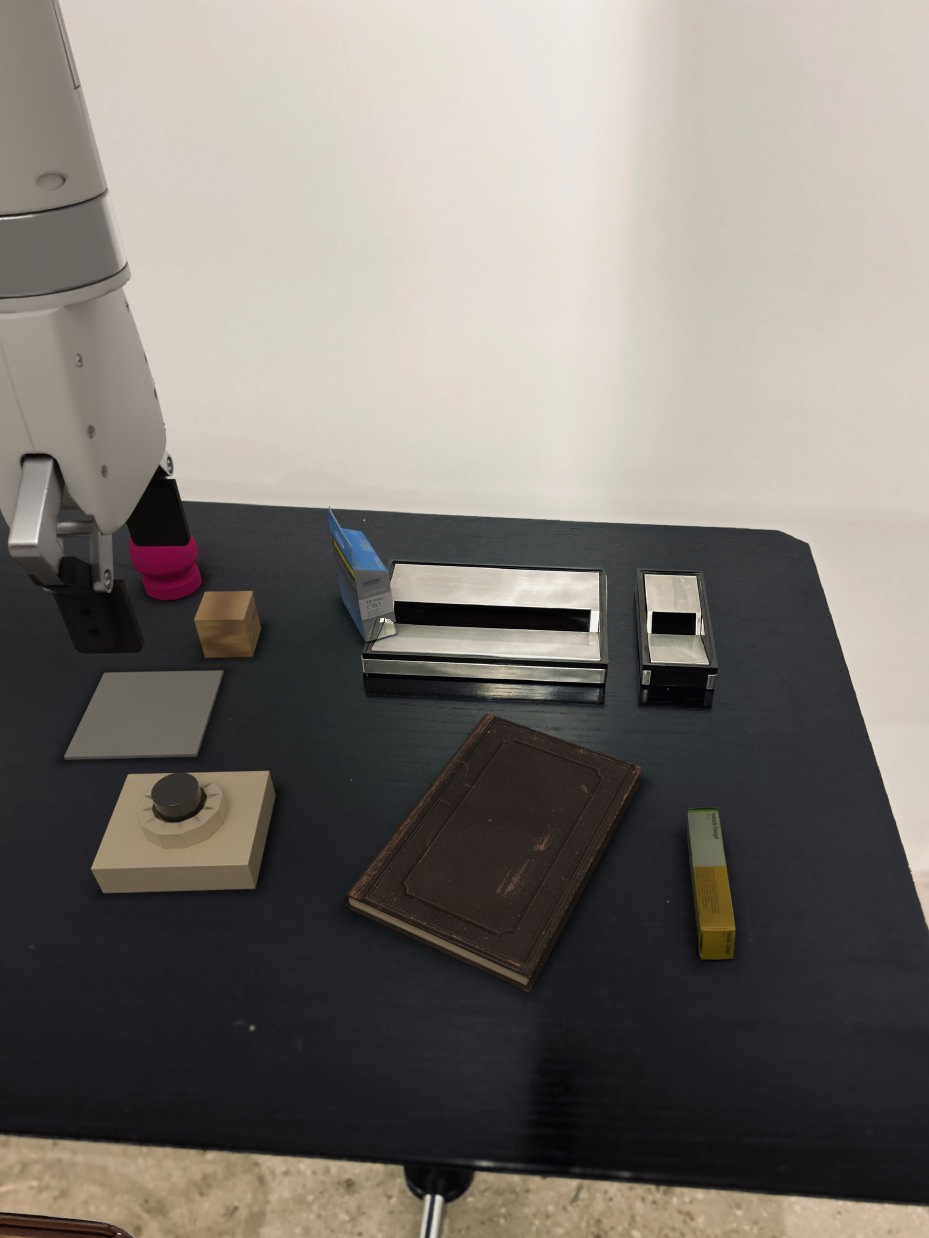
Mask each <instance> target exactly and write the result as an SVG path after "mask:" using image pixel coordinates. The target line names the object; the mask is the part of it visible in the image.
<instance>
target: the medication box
mask: <svg viewBox="0 0 929 1238" xmlns="http://www.w3.org/2000/svg"><path fill="white" fill-rule="evenodd" d="M721 826H722V825H721V820H720V813H719V809H718V807H717V806H695V807H688V808H687V809H686V841H687V851H688V862H689V869H690V870H689V872H690V879H691V881H690V882H691V889H692V897H693V908H694V917H695V918H694V919H695V928H696V936H697V946H698V954H699V955H698V956H699V958H700V960H701V961H703V960H715V961H717V960H731V959H734V952H735V944H736V943H735V942H736V929H737V928H736V923H735V915H734V907H733V901H732V895H731V888H730V881H729V874H728V868H727V860H726V854H725V847H724V839H723V833H722V827H721Z"/></svg>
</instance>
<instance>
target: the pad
mask: <svg viewBox="0 0 929 1238" xmlns="http://www.w3.org/2000/svg"><path fill="white" fill-rule="evenodd" d="M224 674H225V671H224V670H222V669H219V670H215V669H214V670H169V671H167V670H166V671H164V670H163V671H123V672H122V671H117V672H116V671H115V672H113V671H112V672H103V674H102V677H100V680H99V683H98V685H97V686H96V689H95V691H94V693H93V695H92V697H91V699H90V701H89V703H88V705H87V708H86V710H85V712H84V714H83V716H82V718H81V720H80V722H79V724H78V726H77V728H76V730H75V732H74V735H73V737H72V739H71V741H70V743H69V745H68V747H67V749H66V752H65V754H64V756H63V759H64V760H65V761H68V760H69V761H71V760H73V761H75V760H114V759H115V760H116V759H117V760H119V759H154V758H155V759H156V758H159V759H161V758H197V757H198V756H199V752H200V749H201V746H202V743H203V740H204V737H205V733H206V732H207V731H206V730H207V728H208V724H209V721H210V718H211V715H212V712H213V708H214V705H215V702H216V699H217V696H218V694H219V689H220V686H221V683H222V681H223V678H224Z"/></svg>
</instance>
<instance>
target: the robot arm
mask: <svg viewBox="0 0 929 1238" xmlns="http://www.w3.org/2000/svg"><path fill="white" fill-rule="evenodd" d="M93 129H94V128H93V125H92V122H91V118H90V114H89V111H88V106H87V102H86V99H85V94H84V92H83V86H82V84H81V79H80V76H79V72H78V68H77V64H76V60H75V57H74V54H73V51H72V46H71V42H70V38H69V35H68V31H67V27H66V23H65V20H64V16H63V12H62V8H61V5H60V1H59V0H0V512H1V514H2V516H3V518H4V520H5V522H6V524H7V526H8V528H9V533H8V534H9V535H8V538H7V549H8V552H9V555H10V556H11V558H12V559H13V560H14V561H15V562H16V563H17V564H18V565H20V567H21V568H22V569H23V570H24V571H25V572H27V575H28V577H29V578H30V581H31V583H33V585H35V586H37V587H40V588H42V590H43V591H44V593H46V594H47V595H52V596H53V599H54V601H55V603H56V606H57V609H58V611H59V613H60V615H61V618H62V620H63V622H64V625H65V628H66V631H67V632H68V634H69V637H70V640H71V642H72V645H73V647H74V649H75V650H76V651H77V652H78V653H80V654H84V655H95V654H96V655H99V654H100V655H101V654H137V653H140V652H141V651H142V650H143V647H144V645H145V638H144V635H143V632H142V629H141V627H140V624H139V621H138V618H137V614H136V612H135V608H134V606H133V603H132V600H131V597H130V594H129V592H128V589H127V586H126V583H125V580H124V579H119V578H118V579H117V578H115V577H114V549H113V548H114V544H113V543H114V542H113V534H114V533H115V532H117V531H118V530H119V529H121V528H122V526H123V525H124V524H125V523H126V526H127V529H128V532H129V536H131V539H132V541H133V543H134V544H135V545H136V546H139V547H151V546H186V545H188V544H189V541H190V539H191V534H192V533H191V530H190V527H189V523H188V520H187V515H186V512H185V509H184V505H183V502H182V498H181V494H180V491H179V486H178V483H177V479H176V478H171V477H173V475H174V472H175V471H174V470H175V465H174V460H173V457H172V455H171V454H170V453H169V452H168V450H167V449H166V446H167V434H166V433H167V432H166V431H167V430H166V427H165V425H166V423H165V421H164V417H163V412H162V408H161V404H160V400H159V396H158V392H157V389H156V382H155V379H154V377H153V375H152V371H151V368H150V364H149V361H148V358H147V355H146V352H145V349H144V346H143V342H142V339H141V336H140V333H139V330H138V328H137V327H138V326H137V324H136V322H135V317H134V316H133V313H132V309H131V306H130V304H129V301H128V298H127V296H126V293H125V290H124V286H126V285H127V283H128V282H129V281H130V280H131V278H132V277H131V276H132V273H131V269H130V265H129V262H128V259H127V254H126V250H125V246H124V242H123V238H122V235H121V231H120V228H119V223H118V219H117V215H116V213H115V209H114V204H113V201H112V198H111V193H110V190H109V187H108V183H107V179H106V175H105V170H104V167H103V163H102V159H101V156H100V152H99V149H98V148H99V147H98V145H97V144H98V143H97V141H96V137H95V133H94V130H93ZM165 477H170V478H168V479H166V478H165ZM61 511H82V512H83V513H84V514H85V515H86V516H92V520H60V519H61V518H60V517H61V516H60V514H61ZM190 533H191V534H190ZM76 538H78V539H79V538H84V539H85V538H87V539H88V538H89V559H90V560H89V561H90V562H86V561H84V560H82V559H81V558H78V557H76V556H66V555H65V542H64V539H76Z"/></svg>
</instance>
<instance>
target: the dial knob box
mask: <svg viewBox="0 0 929 1238" xmlns="http://www.w3.org/2000/svg"><path fill="white" fill-rule="evenodd" d="M173 773H174V772H165V773H164V772H163V773H162V772H161V773H129V774H127V775H126V779H125V781H124V784H123V786H122V788H121V791H120V793H119V796H118V799H117V801H116V804H115V807H114V809H113V812H112V814H111V817H110V819H109V822H108V824H107V827H106V829H105V832H104V834H103V837H102V839H101V842H100V845H99V847H98V850H97V852H96V854H95V858H94V860H93V862H92V865H91V867H90V870H91V872H92V874H93V876H94V878H95V880H96V882H97V884H98V886H99V888H100V890H101V892H102V894H122V893H123V894H125V893H126V894H127V893H159V892H161V893H162V892H188V891H189V892H194V891H224V890H225V891H226V890H255V889H256V887H257V883H258V879H259V875H260V870H261V865H262V861H263V855H264V852H265V847H266V840H267V837H268V832H269V827H270V823H271V819H272V814H273V809H274V804H275V800H276V796H277V795H276V791H275V787H274V783H273V780H272V777H271V772H270V770H249V771H248V770H247V771H243V770H242V771H211V772H210V771H208V772H207V771H205V772H200V771H199V772H187V773H188V774H191V775H193V776H194V777H195V778H196V779H197V781H198V784H199V786H200V789H201V792H202V795H203V798H204V804H203V807H202V809H201V810H200V812H199V813H198V814H197V815H196V816H194V817H192V818H190V819H187V820H185V821H182V822H179V823H171V822H167V821H164V820H163V819H161V818H160V817H159V815H158V813H157V810H156V808H155V805H154V803H153V800H152V798H151V791H152V788H153V786H154V785H155V784H156V783H157V782H158V781H159V780H160V779H161V778H163V777H165V776H167V775H170V774H173Z"/></svg>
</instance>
